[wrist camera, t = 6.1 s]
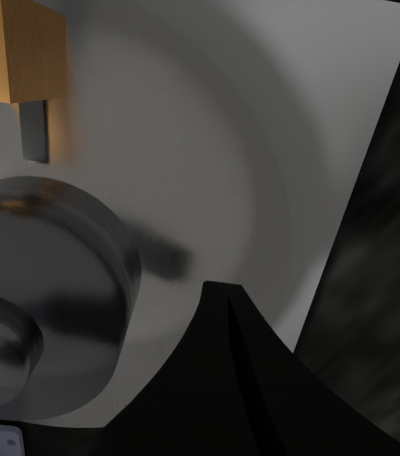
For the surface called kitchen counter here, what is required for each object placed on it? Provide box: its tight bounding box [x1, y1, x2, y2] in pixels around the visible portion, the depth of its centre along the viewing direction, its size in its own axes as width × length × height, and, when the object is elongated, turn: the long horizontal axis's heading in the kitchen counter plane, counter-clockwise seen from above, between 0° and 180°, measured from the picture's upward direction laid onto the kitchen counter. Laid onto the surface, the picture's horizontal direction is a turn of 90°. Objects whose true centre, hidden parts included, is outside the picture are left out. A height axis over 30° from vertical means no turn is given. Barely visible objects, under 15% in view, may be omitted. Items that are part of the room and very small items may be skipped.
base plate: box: [129, 0, 400, 353], centre depth 14 cm, size 20×22×1 cm
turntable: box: [0, 0, 292, 428], centre depth 11 cm, size 18×18×4 cm
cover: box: [0, 176, 142, 421], centre depth 10 cm, size 7×7×4 cm
